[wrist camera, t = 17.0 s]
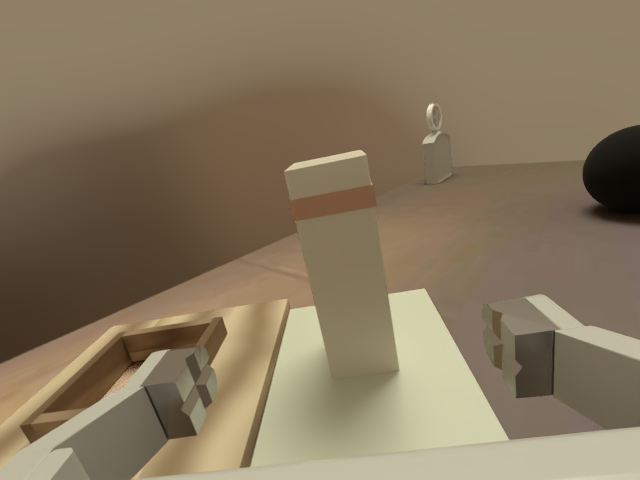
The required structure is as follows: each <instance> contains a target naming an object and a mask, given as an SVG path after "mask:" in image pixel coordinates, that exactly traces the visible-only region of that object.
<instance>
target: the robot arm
mask: <svg viewBox="0 0 640 480" xmlns="http://www.w3.org/2000/svg"><path fill="white" fill-rule="evenodd" d="M482 318H483V319H484V321H485V322H486V323H487V327H486V328H485V330H484V331H483V336H484V344H485V348H486V351H487V354H488V356H489V358H490V360H491V362H492V363H493V365H494V366H495V367H497V368H499V369H501V370H502V374H503V380H504V381H505V383H506V384H507V386H508V387H509V389H510V390H511V392H512V393H513V394H514V396H515V397H516V398H525V397H536V396H548V395H553V397H555V398H556V399H558V400H560V401H561V402H563V403H564V404H566V405H568V406H569V407H571V408H572V409H574V410H576V411H577V412H579V413H581V414H582V415H584V416H585V417H587V418H589V419H590V420H592V421H593V422H595V423H597V424H598V425H600V426H602V427H603V428H605V429H606V430H601V431H592V432H582V433H573V434H564V435H555V436H545V437H535V438H526V439H516V440H506V441H496V442H487V443H477V444H467V445H457V446H448V447H438V448H428V449H418V450H409V451H399V452H389V453H379V454H370V455H360V456H351V457H342V458H332V459H323V460H313V461H304V462H294V463H285V464H275V465H266V466H256V467H246V468H236V469H227V470H217V471H207V472H198V473H188V474H178V475H169V476H159V477H149V478H140V479H132V478H133V477H134V476H135V475H136V474H137V473H138V472H139V471H140V470H141V469H142V468H143V467H144V466H145V465H146V464H147V463H148V462H149V461H150V460H151V459H152V458H153V457H154V456H155V455H156V453H157V452H158V451H159V450H160V449H161V448H162V447H163V446H164V445H165V444H166V443H167V442H168V440H170V439H177V438H183V437H190V436H197V435H198V433H199V431H200V429H201V427H202V425H203V422H204V420H205V418H206V416H207V414H206V411H205V409H206V408H207V407H208V406H209V405H210V404H211V403H212V402H213V400H214V398H215V396H216V391H217V377H216V374H215V371H214V369H213V368H212V367H211V366H209V365H208V364H207V362H208V359H209V354H208V352H207V350H206V348H205V347H204V346H202V345H200V346H192V347H184V348H176V349H171V350H170V349H168V350H162V351H156V352H153V353H151V355H150V356H149V357H148V358H147V359H146V361H145V362H144V363H143V364H142V365H141V366H140V368H139V369H138V370H137V371H136V372H135V374H134V375H133V376H132V377H131V378H130V380H129V381H128V382H127V383H126V384H125V386H124V387H123V388H122V389H121V390H116V391H114V392H113V393H111V394H109V395H108V396H106V397H105V398H103V399H102V400H100V401H98V402H97V403H95V404H94V405H92V406H90V407H89V408H87V409H86V410H84V411H83V412H81V413H79V414H78V415H76V416H75V417H73V418H71V419H70V420H68V421H67V422H65V423H64V424H62V425H60V426H59V427H57V428H56V429H54V430H52V431H51V432H49V433H48V434H46V435H45V436H43V437H41V438H40V439H38V440H37V441H35V442H33V443H32V444H30V445H29V446H27V447H26V448H24V449H22V450H21V451H19V452H18V453H17V454H16V455H15V456H14V457H13V458H12V459H11V460H10V461H9V462H8V463H7V464H6V465H5V466H4V467H3V468H2V469H1V470H0V480H640V340H638V339H634V338H631V337H628V336H624V335H621V334H618V333H614V332H611V331H608V330H605V329H601V328H598V327H595V326H584V325H582V324H581V323H580V322H579V321H577V320H576V319H575V318H573V317H572V316H571V315H570V314H568V313H567V312H566V311H564V310H563V309H562V308H561V307H559V306H558V305H557V304H556V303H554V302H553V301H552V300H550V299H549V298H548V297H547V296H545V295H541V294H539V295H533V296H528V297H523V298H518V299H512V300H506V301H500V302H494V303H489V304H483V307H482Z"/></svg>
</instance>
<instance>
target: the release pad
mask: <svg viewBox="0 0 640 480" xmlns="http://www.w3.org/2000/svg"><path fill="white" fill-rule="evenodd" d="M388 298H389V304H390V311H391V317H392V324H393V330H394V337H395V343H396V350H397V356H398V363H399V369H400V371H394V372H386V373H378V374H370V375H362V376H354V377H346V378H339V379H332V376H331V372H330V367H329V363H328V359H327V355H326V350H325V346H324V342H323V337H322V333H321V329H320V325H319V320H318V316H317V312H316V307H315V306H310V307H303V308H297V309H291V310H290V313H289V317H288V321H287V325H286V329H285V333H284V337H283V341H282V345H281V349H280V353H279V356H278V360H277V364H276V368H275V372H274V376H273V380H272V384H271V388H270V392H269V396H268V400H267V404H266V408H265V412H264V415H263V419H262V423H261V427H260V431H259V435H258V439H257V443H256V447H255V451H254V455H253V459H252V463H251V467H256V466H266V465H275V464H285V463H294V462H304V461H313V460H323V459H332V458H342V457H351V456H360V455H370V454H379V453H389V452H399V451H409V450H418V449H428V448H438V447H448V446H457V445H467V444H477V443H487V442H496V441H506V440H509V439H508V437H507V435H506V434H505V432H504V430H503V428H502V426H501V425H500V423H499V421H498V419H497V418H496V416H495V414H494V412H493V410H492V409H491V407H490V405H489V403H488V401H487V400H486V398H485V396H484V394H483V392H482V391H481V389H480V387H479V385H478V383H477V382H476V380H475V378H474V376H473V374H472V373H471V371H470V369H469V367H468V366H467V364H466V362H465V360H464V358H463V357H462V355H461V353H460V351H459V349H458V348H457V346H456V344H455V342H454V340H453V339H452V337H451V335H450V333H449V331H448V330H447V328H446V326H445V324H444V322H443V321H442V319H441V317H440V315H439V314H438V312H437V310H436V308H435V306H434V305H433V303H432V301H431V299H430V297H429V296H428V294H427V292H426V290H425V289H419V290H412V291H406V292H400V293H393V294H388Z"/></svg>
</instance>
